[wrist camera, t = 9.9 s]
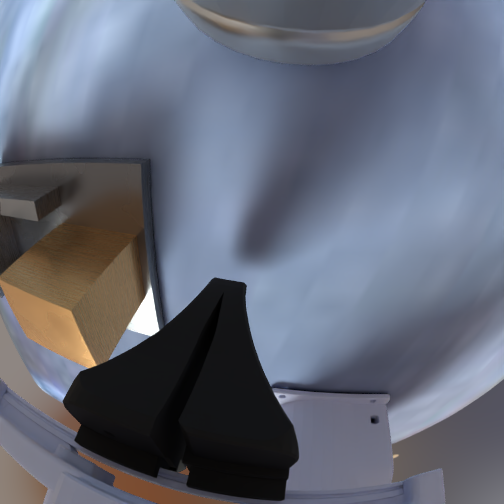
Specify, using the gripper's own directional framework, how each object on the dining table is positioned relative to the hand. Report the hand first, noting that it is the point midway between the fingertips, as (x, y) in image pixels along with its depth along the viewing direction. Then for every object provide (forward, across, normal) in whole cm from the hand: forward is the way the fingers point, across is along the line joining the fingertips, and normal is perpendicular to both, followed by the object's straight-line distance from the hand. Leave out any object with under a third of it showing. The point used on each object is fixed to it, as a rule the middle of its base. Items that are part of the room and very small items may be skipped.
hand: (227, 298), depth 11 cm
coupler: (+2, +10, 0) cm, 11 cm away
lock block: (+1, +7, 0) cm, 7 cm away
